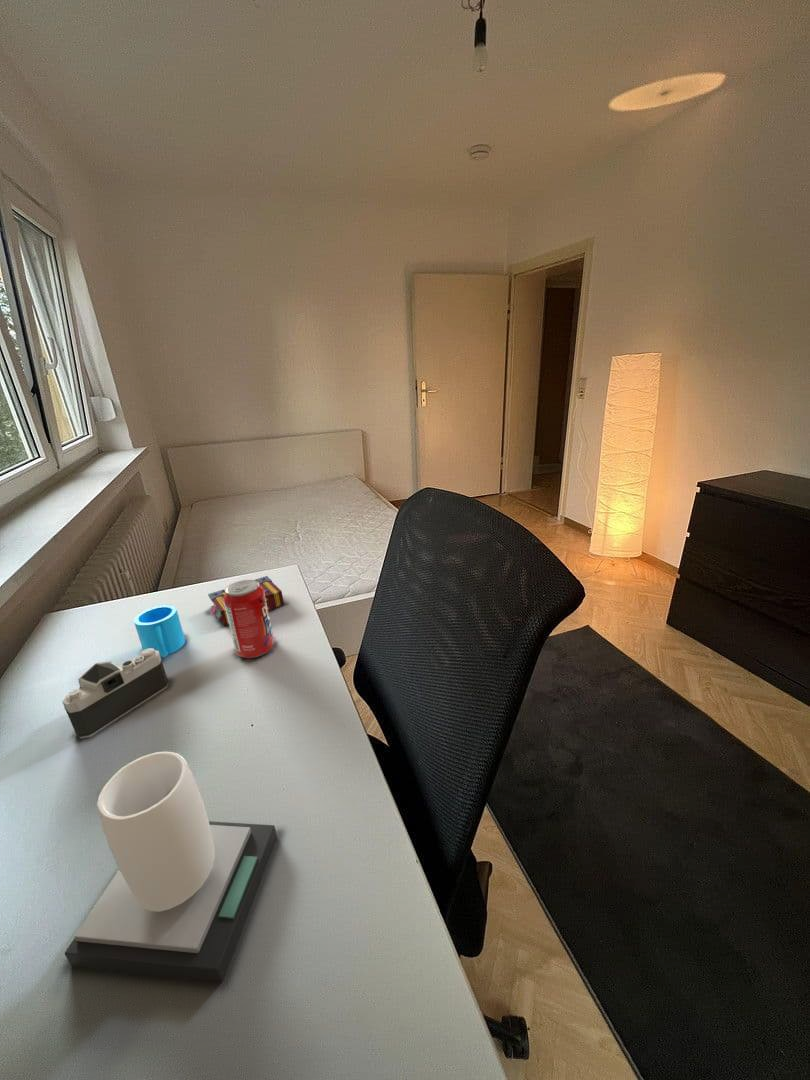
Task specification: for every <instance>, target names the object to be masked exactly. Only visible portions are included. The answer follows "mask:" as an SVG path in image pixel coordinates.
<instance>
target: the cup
mask: <svg viewBox="0 0 810 1080" xmlns="http://www.w3.org/2000/svg"><path fill="white" fill-rule="evenodd" d="M96 808H97V810H96V811H97V813H98V816H99V821H100V823H101V827H102V830H103V834H104V836H105V839H106V842H107V845H108V847H109V850H110V852H111V855H112V857H113V859H114V861H115V864H116V866H117V867H118V870H119V869H120V871H121V873H122V875H123V877H124V879H125V881H126V883H127V885H128V886H129V888H130V890H131V892H132V893H133V895H134V896H135V898H136V900H137V901H138V902H139V904H140V905H141V906H142V907H143V908H145V909H147V910H150V911H157V912H161V911H164V910H168V909H171V908H173V907H175V906H177V905H179V904H182V903H183V902H184V901H186V900H187V899H188V898H190V897H191V896H193V895H194V894H195V893H196V892H197V891H198V890H199V889H200V888H201V887H202V885H203V884H204V882H205V881H206V879H207V878H208V876H209V874H210V872H211V869H212V867H213V863H214V859H215V848H214V843H213V838H212V833H211V829H210V825H209V817H208V813H207V810H206V807H205V803H204V799H203V797H202V794H201V792H200V789H199V787H198V783H197V781H196V779H195V777H194V774H193V772H192V770H191V769H190V766H189V764H188V762H187V760H186V759H185V758H184V757H183V756H182V755H181V754H179V753H176V752H174V751H156V752H152V753H149V754H145V755H143V756H141V757H139V758H137V759H134V760H132V761H131V762H129V763H127V764H126V765H124V766H123V767H121V768H120V769H119V770H118V771H117V772H116V773H114V774H113V775H112V776H111V777H110V779H109V780H108V781H107V782H106V783H105V785H104V786H103V788H102V790H101V791H100V793H99V796H98V798H97V802H96Z"/></svg>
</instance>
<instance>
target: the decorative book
mask: <svg viewBox="0 0 810 1080" xmlns="http://www.w3.org/2000/svg"><path fill="white" fill-rule="evenodd" d="M254 580H255V581H257V582H258V583H259V585H260V586H261V587H262V588H263V589H264V593H265V598H266V603H267V608H268V612H271V611H273V610H274V609H275V608H277V607H278V608H279V607H280V606H284V605H285V602H284V597H283V591H282V590H281V589H280V588H279V587H278V585H276V584H275V583H274V582H273V580H272V579H271V577H269V576H268V575H265V576H262V577H259V578H255V579H254ZM207 595H208V598H209V599H210V601H211V602H212V603H213V605H211V606H210V608H211V609H209V613H210V615H211V616H213V615H215V616H216V619H217V620H219V621H220V622H221V624H222V626H224V627H225V626H227V625H229V622H228V618H227V614H226V609H225V605H224V601H223V597H224V595H225V588H224V589H221V590H217V591H214V592H211V593H208V594H207ZM211 613H212V614H211Z"/></svg>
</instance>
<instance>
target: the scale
mask: <svg viewBox="0 0 810 1080" xmlns="http://www.w3.org/2000/svg"><path fill="white" fill-rule="evenodd" d="M208 821H209V820H208ZM209 825H210V829H211V833H212V838H213V843H214V848H215V859H214V863H213V867H212V869H211V872H210V874H209V876H208V878H207V879H206V881H205V882H204V884H203V885H202V887H201V888H200V889H199V890H198V891H197V892H196V893H195V894H194V895H193V896H191V897H190V898H188V899H187V900H186V901H184V902H183V903H182V904H179V905H177V906H175V907H173V908H171V909H168V910H164V911H161V912H157V911H150V910H147V909H145V908H143V907H142V906H141V905H140V904H139V902H138V901H137V900H136V898H135V896H134V895H133V893H132V892H131V890H130V888H129V886H128V885H127V883H126V881H125V879H124V877H123V875H122V873H121V871H120V869H119V868H118V870H117V871H116V873H115V874H114V876H113V878H111V881H110V882H109V883H108V885H107V886H106V888H105V890H104V891H103V893H102V894H101V895H100V897H99V899H98V900H97V902H96V903H95V905H94V906H93V908H92V909H91V911H90V912H89V914H88V915H87V916H86V918H85V920H84V921H83V923H82V924H81V926H80V927H79V929H78V930H77V932H76V933H75V935H74V936H73V937H74V938H73V939H72V941H71V942H70V944H69V945H68V947H67V948H66V950H65V951H64V956H65V958H66V959H67V960H68V962H69V964H70V966H71V967H76V968H77V967H78V968H87V969H96V970H106V971H115V972H123V973H135V974H143V975H153V976H159V977H160V976H162V977H171V978H180V979H187V980H197V981H198V980H199V981H206V982H207V981H208V982H215V983H216V982H217V983H223V982H224V980H225V977H226V974H227V971H228V969H229V966H230V963H231V961H232V958H233V955H234V953H235V950H236V948H237V945H238V942H239V939H240V937H241V934H242V931H243V930H244V927H245V924H246V922H247V918H248V916H249V914H250V910H251V908H252V905H253V903H254V900H255V897H256V894H257V892H258V890H259V887H260V884H261V882H262V879H263V876H264V873H265V871H266V868H267V865H268V863H269V860H270V857H271V854H272V852H273V850H274V847H275V844H276V842H277V839H278V835H277V830H276V826H275V824H258V823H245V822H243V823H242V822H227V821H211V820H210V821H209Z"/></svg>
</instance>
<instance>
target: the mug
mask: <svg viewBox="0 0 810 1080" xmlns="http://www.w3.org/2000/svg"><path fill="white" fill-rule="evenodd" d="M133 624H134V626H135V630H136V632H137V633H136V634H138V635H137V636H138V638H139V641H140V645H141V648H142V651H143V650H146V649H149V648H154V650H156V651H159V654H160V657H161V658H166V657H168V655H171V654H173V653H175V652H177V651H178V650H180V649H181V648H182V647H183V646H184V645H185V643H186V637H185V634H184V631H183V626H182V624H181V620H180V616H179V613H178V609H177V607H176V606H174V605H169V604H164V605H157V606H153V607H150V608H148V609H145V610H143V611H142V612H140V613H138V614H137V615H136V616H135V617H134V619H133Z"/></svg>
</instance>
